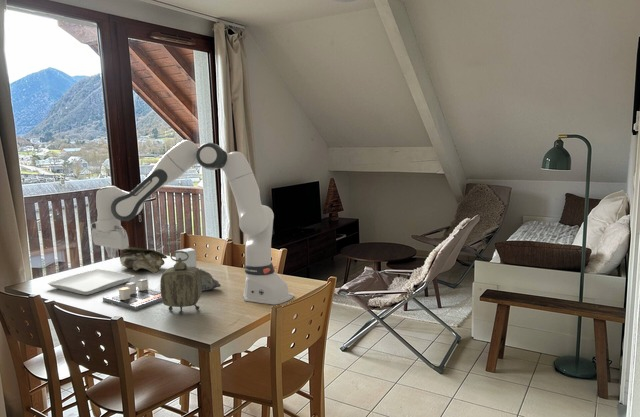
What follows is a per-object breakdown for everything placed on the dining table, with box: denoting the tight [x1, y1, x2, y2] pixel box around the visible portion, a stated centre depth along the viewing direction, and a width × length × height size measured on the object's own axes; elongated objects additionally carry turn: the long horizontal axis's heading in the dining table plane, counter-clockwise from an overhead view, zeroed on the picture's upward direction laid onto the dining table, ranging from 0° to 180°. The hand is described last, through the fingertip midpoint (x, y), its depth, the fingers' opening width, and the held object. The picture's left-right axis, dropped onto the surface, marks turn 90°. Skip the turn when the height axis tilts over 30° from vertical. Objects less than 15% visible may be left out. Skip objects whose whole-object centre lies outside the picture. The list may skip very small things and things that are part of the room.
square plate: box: [47, 268, 135, 296], centre depth 228 cm, size 27×27×4 cm
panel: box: [102, 286, 163, 312], centre depth 207 cm, size 22×18×2 cm
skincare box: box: [174, 247, 197, 268], centre depth 236 cm, size 8×6×15 cm
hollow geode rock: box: [119, 246, 168, 274], centre depth 254 cm, size 28×13×15 cm
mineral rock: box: [198, 268, 222, 292], centre depth 218 cm, size 13×11×10 cm
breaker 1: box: [124, 281, 137, 295], centre depth 209 cm, size 3×3×4 cm
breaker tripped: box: [118, 286, 130, 300], centre depth 202 cm, size 3×3×4 cm
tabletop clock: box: [159, 250, 203, 316], centre depth 189 cm, size 14×9×25 cm, turn 92°
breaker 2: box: [137, 278, 149, 291], centre depth 214 cm, size 3×3×4 cm
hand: (111, 257), depth 203 cm, fingers closed
